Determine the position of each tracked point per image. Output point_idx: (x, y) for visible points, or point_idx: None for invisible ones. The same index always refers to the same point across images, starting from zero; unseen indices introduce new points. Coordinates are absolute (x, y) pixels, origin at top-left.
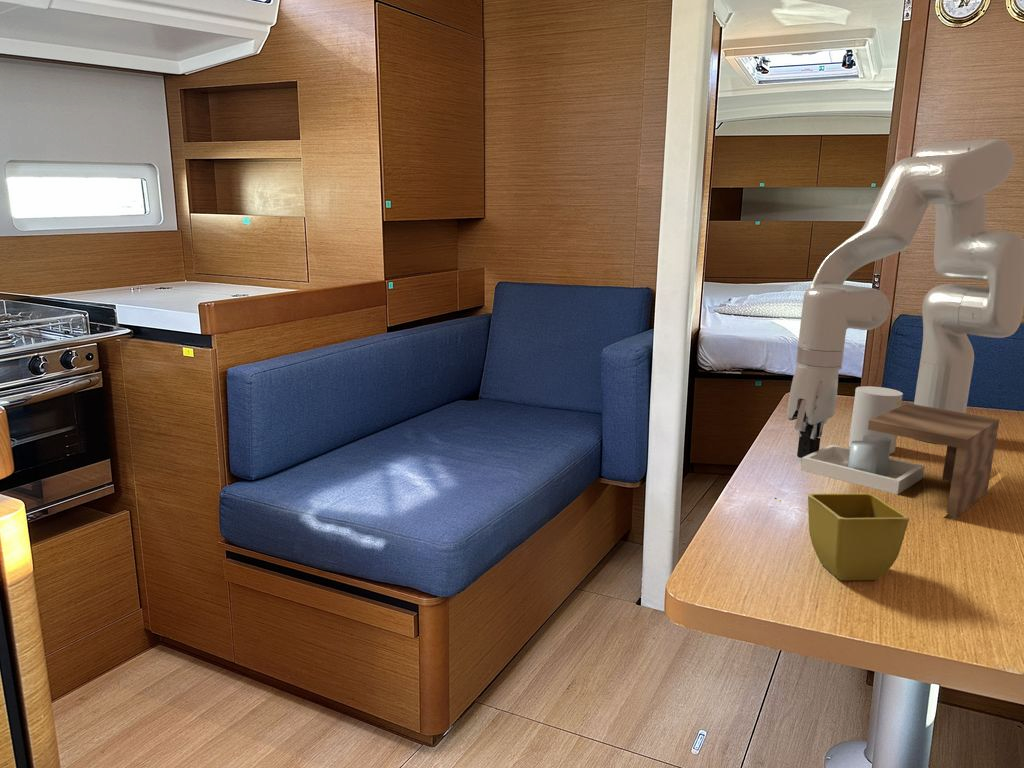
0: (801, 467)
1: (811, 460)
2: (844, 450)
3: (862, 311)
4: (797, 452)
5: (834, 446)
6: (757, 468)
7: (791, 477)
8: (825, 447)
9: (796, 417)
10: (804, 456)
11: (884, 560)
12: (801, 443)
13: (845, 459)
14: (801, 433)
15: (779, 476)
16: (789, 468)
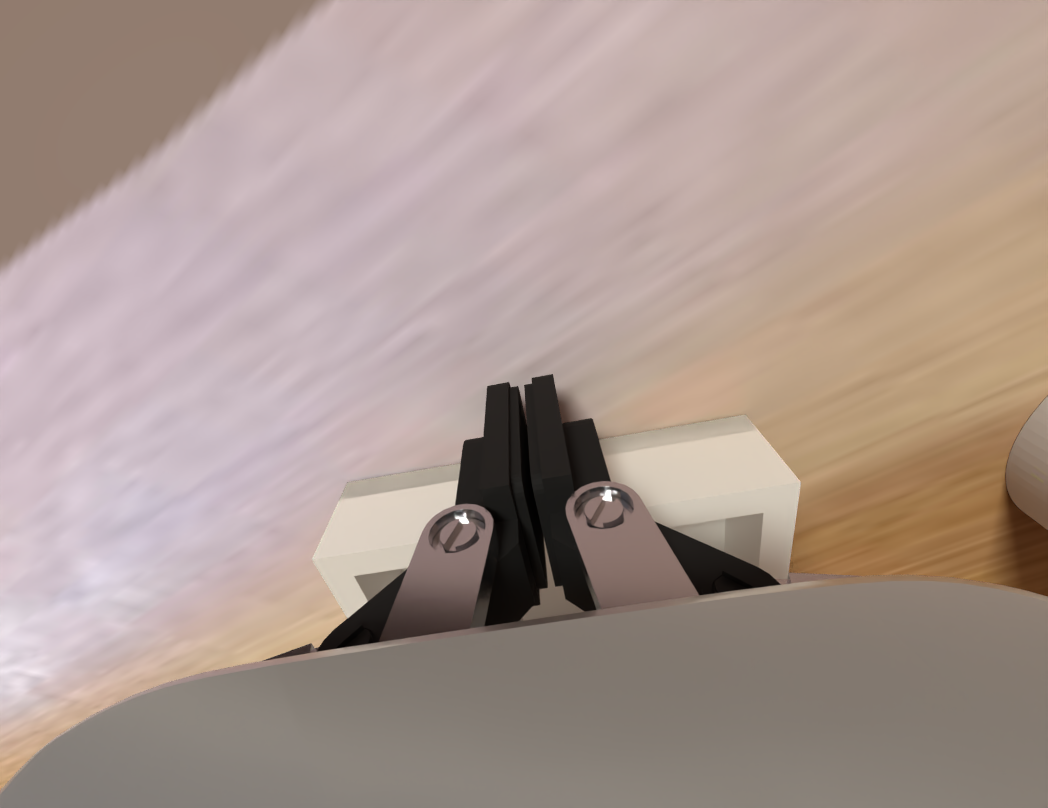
0: (336, 511)
1: (338, 598)
2: (752, 561)
3: None
4: (488, 396)
5: (768, 514)
6: (132, 295)
7: (256, 490)
8: (686, 502)
9: (436, 636)
10: (346, 553)
11: None
12: (459, 488)
13: (728, 526)
14: (397, 589)
15: (194, 455)
16: (366, 396)
